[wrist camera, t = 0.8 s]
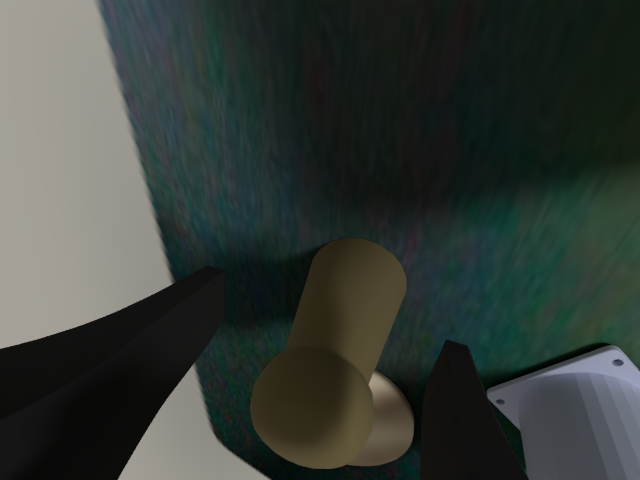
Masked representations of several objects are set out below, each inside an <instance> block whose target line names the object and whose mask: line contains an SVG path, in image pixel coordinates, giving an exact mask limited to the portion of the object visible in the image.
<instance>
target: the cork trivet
mask: <svg viewBox="0 0 640 480" xmlns="http://www.w3.org/2000/svg"><path fill="white" fill-rule="evenodd" d="M369 387H370V389H371V391H372V394H373V406H374V421H373V427H372V431H371V433H370V435H369V437H368V439H367V441H366V443H365V445H364V447H363V449H362V451H361V453H360V454H358V455H357V456H356V457H355V458H354V459H353V460H352V461H350V462H349V463H347V465H354V466H374V465H381V464H385V463H388V462H391V461H393V460H395V459H397V458H399V457H400V456H401V455H403V454H404V453H405V452H406V451H407V450H408V448H409V447H410V445H411V443H412V439H413V433H414V415H413V411H412V408H411V405H410V404H409V402H408V400H407V398H406V397H405V395H404V394H403V393H402V391H401V390H400V389H399V388H398V387H397V386H396V385H395V384H394V383H393V382H392V381H391V380H389V379H388V378H387V377H386V376H384V375H383V374H381V373H380V372H379V371H377V370H374V372H373V375H372V377H371V380H370V382H369Z"/></svg>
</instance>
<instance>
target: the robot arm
mask: <svg viewBox="0 0 640 480" xmlns="http://www.w3.org/2000/svg"><path fill="white" fill-rule="evenodd" d="M224 309H225V271H224V270H221V269H218V268H215V267H211V266H206V267H204V268H202V269H200V270H198V271H197V272H195V273H193V274H191V275H189V276H187V277H185V278H184V279H182V280H180V281H178V282H176V283H174V284H172V285H170V286H169V287H167V288H165V289H163V290H161V291H159V292H157V293H155V294H153V295H151V296H149V297H147V298H145V299H143V300H141V301H139V302H136V303H134V304H132V305H130V306H128V307H126V308H123V309H121V310H119V311H117V312H115V313H112V314H110V315H107V316H105V317H103V318H100V319H97V320H95V321H92V322H89V323H87V324H84V325H81V326H78V327H75V328H72V329H69V330H66V331H63V332H60V333H57V334H54V335H50V336H47V337H44V338H41V339H37V340H33V341H30V342H26V343H22V344H19V345H15V346H10V347H6V348H2V349H0V480H118V478H119V476H120V474H121V472H122V471H123V469H124V467H125V466H126V464H127V462H128V460H129V459H130V457H131V455H132V454H133V452H134V450H135V449H136V447H137V445H138V443H139V442H140V440H141V438H142V437H143V435H144V433H145V432H146V430H147V429H148V427H149V425H150V424H151V422H152V421H153V419H154V417H155V416H156V414H157V413H158V411H159V409H160V408H161V406H162V405H163V404H164V402H165V401H166V399H167V398H168V397H169V395H170V394H171V393H172V391H173V390H174V389H175V387H176V386H177V385H178V383H179V382H180V381H181V380H182V378H183V377H184V376H185V374H186V373H187V372H188V370H189V369H190V368H191V366H192V365H193V364H194V362H195V361H196V360H197V358H198V357H199V356H200V354H201V353H202V352H203V350H204V349H205V348H206V346H207V345H208V344H209V342H210V341H211V339H212V337H213V336H214V334H215V332H216V331H217V329H218V327H219V325H220V323H221V322H222V320H223V318H224ZM617 359H619V360H618V361H614V360H617ZM498 399H501V400H498ZM489 400H490V401H491V402H492V403H493V404H494V405H495V406H496V407H497V408H498V409H499V410H500V411H501V412H502V413H503V414H504V415H505V416H506V417H507V418H508V419H509V420H510V421H511V422H512V423H513V424H514V425H515V426H516V427H517V428H518V429H519V430H520V431H521V437H522V443H523V450H524V456H525V462H526V469H527V475H528V477H527V475H526V473H525V472H524V470H523V468H522V466H521V465H520V463H519V461H518V459H517V457H516V455H515V453H514V452H513V450H512V448H511V446H510V444H509V442H508V440H507V438H506V436H505V434H504V432H503V430H502V428H501V426H500V424H499V421H498V419H497V417H496V415H495V413H494V410H493V408H492V406H491V404H490V401H489ZM420 480H640V371H639V370H638V368H637V367H636V366H635V365H634V364H633V363H632V362H631V361H630V359H629V358H628V357H627V356H626V355H625V354H624V353H623V351H622V350H621V349H620V348H618V347H616V346H610V345H609V346H605V347H602V348H599V349H596V350H594V351H591V352H588V353H585V354H583V355H580V356H577V357H574V358H572V359H569V360H566V361H563V362H561V363H558V364H555V365H552V366H549V367H547V368H544V369H541V370H538V371H536V372H533V373H530V374H527V375H525V376H522V377H519V378H516V379H513V380H511V381H508V382H505V383H502V384H500V385H497V386H494V387H491V388H489V389H488V390H487V394H486V392H485V390H484V387H483V385H482V382H481V380H480V377H479V374H478V372H477V369H476V367H475V364H474V361H473V358H472V355H471V353H470V350H469V348H468V346H466V345H463V344H459V343H456V342H453V341H450V340H447V339H446V341H445V343H444V346H443V348H442V350H441V352H440V354H439V357H438V359H437V361H436V363H435V365H434V368H433V370H432V372H431V374H430V376H429V378H428V381H427V383H426V389H425V395H424V402H423V410H422V421H421V459H420Z"/></svg>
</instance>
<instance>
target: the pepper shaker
mask: <svg viewBox="0 0 640 480" xmlns="http://www.w3.org/2000/svg"><path fill="white" fill-rule="evenodd" d="M405 293H406V276H405V273H404V271H403V268H402V265H401V264H400V263H399V262H398V260H397V259H396V258H395V257H394V255H393V254H392V253H391V252H389V251H388V250H386V249H385V248H383V247H382V246H380V245H379V244H377V243H374V242H371V241H368V240H365V239H359V238H343V239H339V240H335V241H331V242H330V243H328V244H327V245H325V246H324V247H322V248H320V250H319V251H318V252H317V254H316V255H315V257H314V258H313V260H312V264H311V267H310V270H309V273H308V277H307V280H306V283H305V286H304V290H303V293H302V296H301V300H300V303H299V306H298V309H297V313H296V316H295V319H294V322H293V326H292V329H291V332H290V335H289V339H288V342H287V345H286V348H285V352H283V353H280V354H278V355H276V356H275V357H274V358H273V359H272V360H271V362H270V363H269V364H268V365H267V366H266V367H265V368H264V370H263V371H262V372H261V373H260V375H259V377H258V379H257V381H256V382H255V385H254V390H253V394H252V399H251V405H250V410H251V418H252V422H253V425H254V429H255V430H256V432H257V433H258V435H259V436H260V438H261V439H262V440H263V441H264V443H265V444H266V445H267V446H269V447H270V448H271V449H272V450H273V451H274V452H275V453H277V454H278V455H280V456H281V457H283V458H285V459H286V460H288V461H291V462H293V463H295V464H298V465H301V466H305V467H309V468H314V469H332V468H337V467H341V466H344V465H346V464H347V463H349V462H350V461H352V460H353V459H354V458H355V457H356V456H357V455H358V454H360V453H361V451H362V449H363V447H364V445H365V443H366V441H367V439H368V437H369V435H370V433H371V431H372V427H373V421H374V406H373V394H372V391H371V389H370V387H369V382H370V380H371V377H372V375H373V372H374V370H375V367H376V365H377V362H378V360H379V357H380V355H381V352H382V350H383V347H384V345H385V343H386V340H387V338H388V335H389V333H390V330H391V328H392V325H393V323H394V320H395V318H396V315H397V313H398V310H399V308H400V305H401V303H402V300H403V298H404V295H405Z"/></svg>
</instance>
